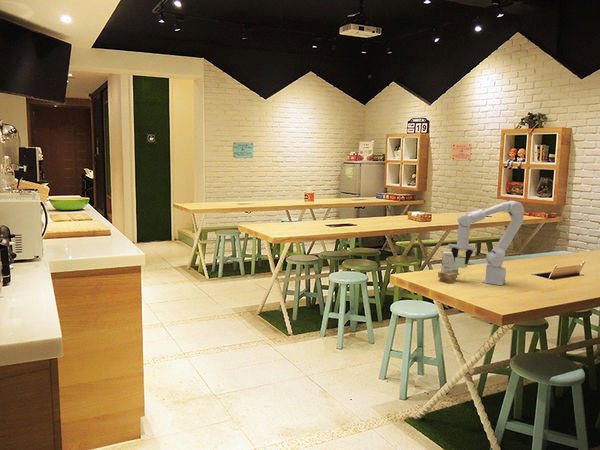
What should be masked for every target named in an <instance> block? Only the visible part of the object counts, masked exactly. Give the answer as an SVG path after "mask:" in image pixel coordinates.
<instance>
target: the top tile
mask: <svg viewBox="0 0 600 450" xmlns="http://www.w3.org/2000/svg"><path fill="white" fill-rule="evenodd" d="M437 273H438V274H437V278H439V279H440V278H444V279H448V280H451V279H455V278H456V279H458V275H459V272H458V273H454V272H449V271H443V272H441V271H439V272H437ZM457 274H458V275H457Z"/></svg>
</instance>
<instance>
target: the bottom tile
mask: <svg viewBox="0 0 600 450" xmlns="http://www.w3.org/2000/svg"><path fill="white" fill-rule="evenodd" d="M456 279H457V278H455V279H451V280H448V279H444V278H439V281H438V282H439V283H446V284H451V285H452V284H454V283H456V281H457V280H456Z"/></svg>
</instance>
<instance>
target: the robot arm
mask: <svg viewBox="0 0 600 450" xmlns="http://www.w3.org/2000/svg"><path fill="white" fill-rule="evenodd" d="M524 208H525V207H523V204H522V203H521V202H520V201H515V200H507V201H503V202H499V203H498V204H496V205H493V206H490V207H488V208H485V209H482V208H475V209H474V210H472V211H470V212H466V214H461V215H459V216H458V219H457V223H458V228H457V229H458V230H457V239H456V243H454V244H453V243H448V245H447V248H448V249H450V251H451V252H452V254H453V256H454V262H455V257H458V253H459V250H463V251H465V257H466V259H465V264H467V265H468V263H469V261H470V258H471V256H472V255H473V253H474V252H478V251H477V250H478V247H475V246H471V245H469V241H470V231H471V230H470V226H471V225H472V224H474V223H477V222H482V221H484V220H485V219H486V217H487V216H490V215H493V214H497V213H499V212H505V213H508V214H509V216H510V220H511V221H510V222H509V224H508V225H507V226H506V227H507V228H506V229H505V230H504V233H503V234H502V236H501V237H500V239H499V240H498V243H497V244H496V245H495V247H493V248H492V250H491V251H489V252H488V253H486V256H485V260H486V261H487V263H486V269H485V279H484V280H483V281H482V283H485V284H488V285H489V284H491V285H496V286H503V285H504V284H506V274H507V268H506V267H503V266H502V265H503V264H504V258H505V256H506V251H507V249H508V248H509V246H510V244H511V242H512V241H513V239H514V238H515V236H516V234H517V233H518V231H519V229H520V228H521V226H522V225H523V223H524V212H525V209H524Z"/></svg>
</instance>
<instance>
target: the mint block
mask: <svg viewBox="0 0 600 450" xmlns="http://www.w3.org/2000/svg"><path fill="white" fill-rule="evenodd" d="M465 259H466V256H461V255H459V256H458V257H455V266H454V267H458V269H459V268H460V269H466V268H468V264H465Z"/></svg>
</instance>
